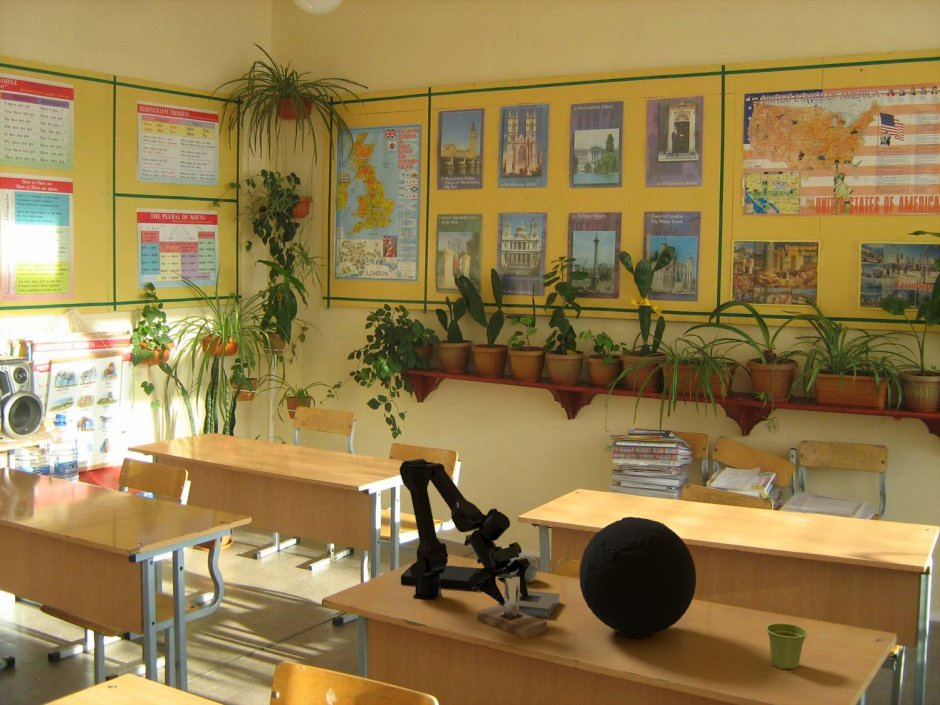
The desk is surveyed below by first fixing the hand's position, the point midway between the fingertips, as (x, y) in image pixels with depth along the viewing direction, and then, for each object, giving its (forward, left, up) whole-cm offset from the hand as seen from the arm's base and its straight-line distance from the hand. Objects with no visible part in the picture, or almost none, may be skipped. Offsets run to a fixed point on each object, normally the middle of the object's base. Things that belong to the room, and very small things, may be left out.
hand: (515, 600), depth 269 cm
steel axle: (-1, +1, -7) cm, 7 cm away
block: (0, +17, -7) cm, 18 cm away
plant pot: (+68, -4, -7) cm, 68 cm away
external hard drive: (-30, +33, -8) cm, 45 cm away
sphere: (+31, +6, -7) cm, 32 cm away
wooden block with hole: (-1, +1, -7) cm, 7 cm away
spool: (-10, +41, -7) cm, 43 cm away
